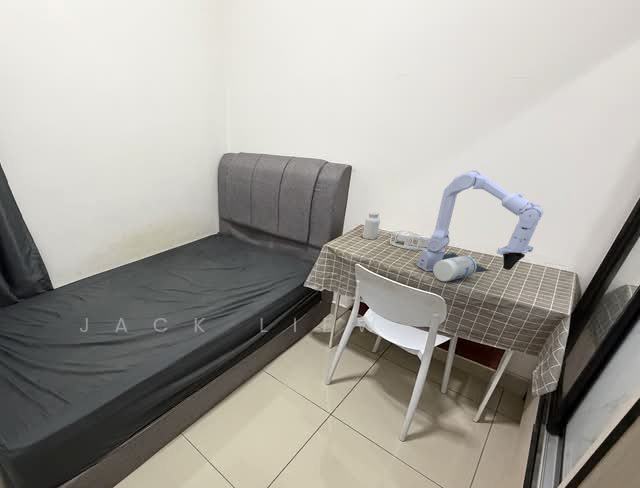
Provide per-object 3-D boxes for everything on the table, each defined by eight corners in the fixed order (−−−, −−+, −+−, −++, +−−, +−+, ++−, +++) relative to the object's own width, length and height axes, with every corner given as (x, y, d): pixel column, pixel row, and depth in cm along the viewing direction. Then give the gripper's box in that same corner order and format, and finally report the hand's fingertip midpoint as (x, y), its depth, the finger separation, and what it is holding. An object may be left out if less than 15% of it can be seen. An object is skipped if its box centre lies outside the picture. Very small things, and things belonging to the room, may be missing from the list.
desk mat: (457, 273, 138) (457, 273, 138) (426, 256, 156) (426, 256, 156) (487, 270, 141) (487, 269, 141) (453, 253, 158) (453, 253, 158)
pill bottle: (363, 239, 179) (368, 214, 172) (361, 234, 186) (365, 210, 179) (377, 240, 178) (383, 215, 171) (374, 235, 185) (379, 211, 177)
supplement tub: (473, 279, 133) (449, 285, 129) (453, 270, 141) (430, 276, 137) (481, 259, 128) (456, 265, 124) (459, 251, 136) (435, 257, 132)
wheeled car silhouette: (432, 248, 165) (436, 235, 161) (424, 254, 158) (428, 240, 155) (396, 239, 178) (399, 227, 175) (387, 244, 172) (390, 231, 168)
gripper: (515, 242, 112) (500, 274, 119) (547, 239, 114) (531, 271, 121) (497, 236, 118) (484, 267, 125) (528, 233, 120) (514, 264, 127)
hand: (506, 268), depth 123 cm, fingers closed
